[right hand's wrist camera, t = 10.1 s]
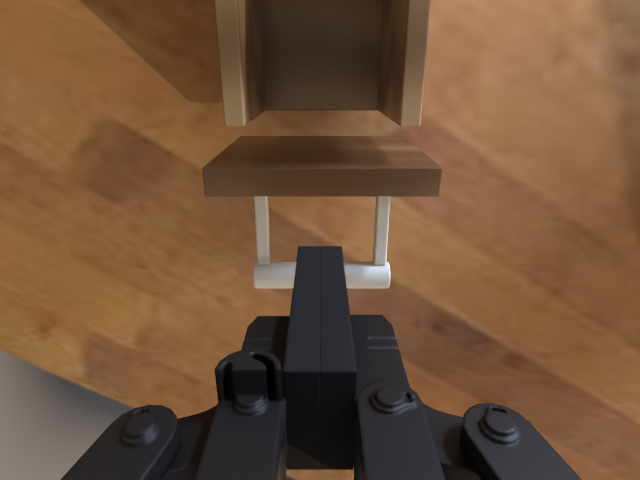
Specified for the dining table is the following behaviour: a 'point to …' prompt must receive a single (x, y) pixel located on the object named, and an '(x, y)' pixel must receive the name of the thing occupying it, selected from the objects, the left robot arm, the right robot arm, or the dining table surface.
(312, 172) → the drawer
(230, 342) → the dining table surface
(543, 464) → the right robot arm
